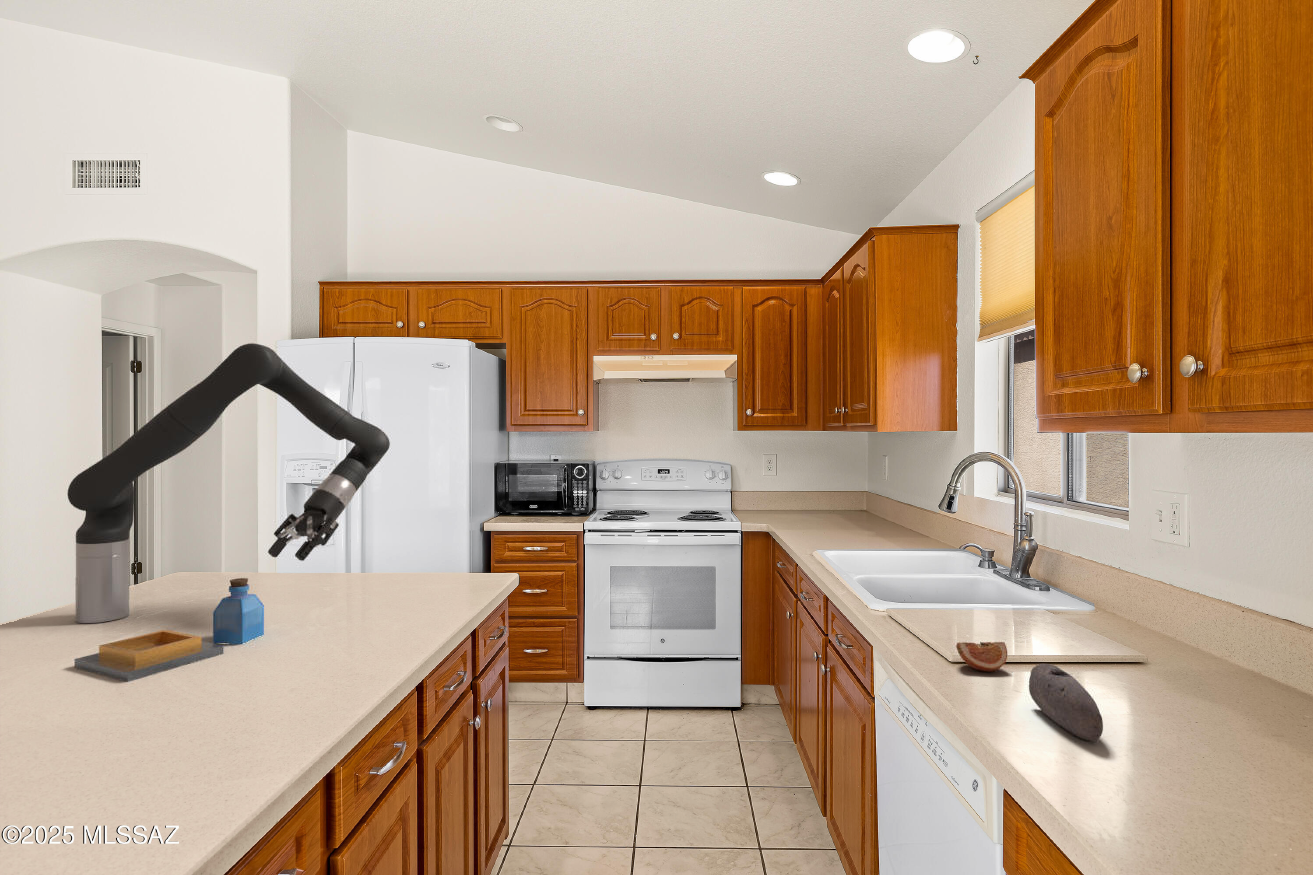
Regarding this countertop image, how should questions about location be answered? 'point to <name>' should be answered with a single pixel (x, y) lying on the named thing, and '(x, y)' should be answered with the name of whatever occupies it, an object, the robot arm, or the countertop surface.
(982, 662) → the fruit slice
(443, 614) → the countertop surface
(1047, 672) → the dark grey stone
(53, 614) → the countertop surface
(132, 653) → the wooden tray
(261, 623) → the perfume bottle
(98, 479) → the robot arm
